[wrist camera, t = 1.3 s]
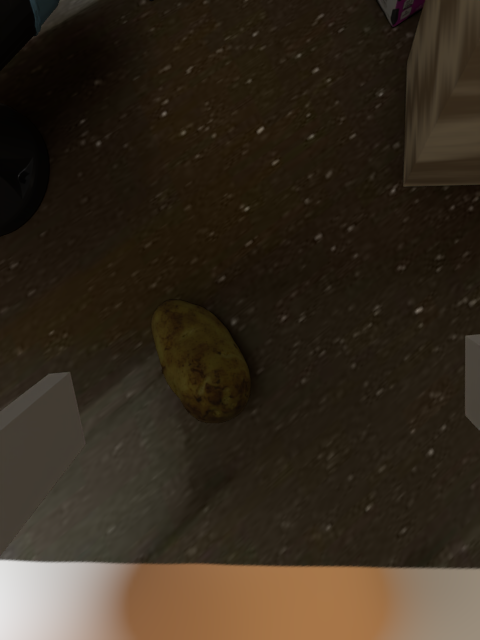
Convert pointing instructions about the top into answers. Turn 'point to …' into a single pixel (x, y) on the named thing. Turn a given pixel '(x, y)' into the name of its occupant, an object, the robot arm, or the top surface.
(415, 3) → the candy bar box
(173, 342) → the potato
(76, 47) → the top surface
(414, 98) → the block
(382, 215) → the top surface
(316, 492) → the top surface
